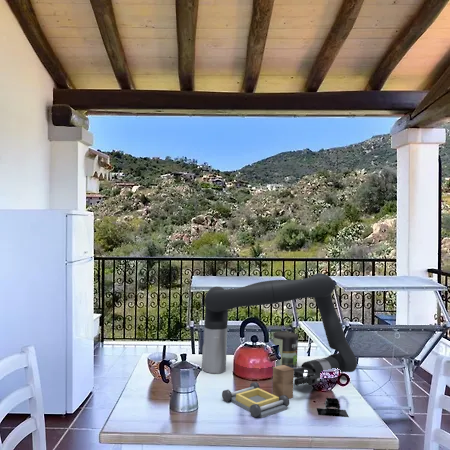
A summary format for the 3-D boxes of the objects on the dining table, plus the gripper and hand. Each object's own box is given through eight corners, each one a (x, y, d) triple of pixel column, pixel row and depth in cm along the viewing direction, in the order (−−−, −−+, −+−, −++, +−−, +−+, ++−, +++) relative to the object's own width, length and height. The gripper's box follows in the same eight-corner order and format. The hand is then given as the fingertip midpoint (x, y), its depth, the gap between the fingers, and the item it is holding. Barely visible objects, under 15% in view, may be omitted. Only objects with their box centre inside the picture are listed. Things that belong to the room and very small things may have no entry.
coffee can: (300, 366, 184) (301, 333, 184) (293, 373, 174) (294, 338, 174) (276, 362, 188) (277, 329, 188) (268, 369, 179) (269, 335, 179)
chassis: (221, 399, 147) (221, 388, 147) (252, 390, 155) (252, 380, 155) (257, 419, 132) (258, 407, 132) (289, 408, 141) (290, 397, 141)
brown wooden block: (272, 396, 151) (273, 367, 151) (282, 393, 154) (283, 364, 154) (282, 401, 147) (283, 371, 147) (292, 397, 150) (293, 368, 150)
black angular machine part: (313, 417, 136) (314, 403, 136) (310, 408, 144) (311, 394, 143) (354, 420, 135) (354, 405, 135) (349, 410, 142) (349, 396, 142)
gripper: (301, 355, 167) (271, 362, 157) (332, 365, 156) (301, 373, 146) (301, 374, 167) (271, 383, 157) (331, 386, 156) (301, 396, 146)
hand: (285, 378), depth 152 cm, fingers open, 8 cm apart
